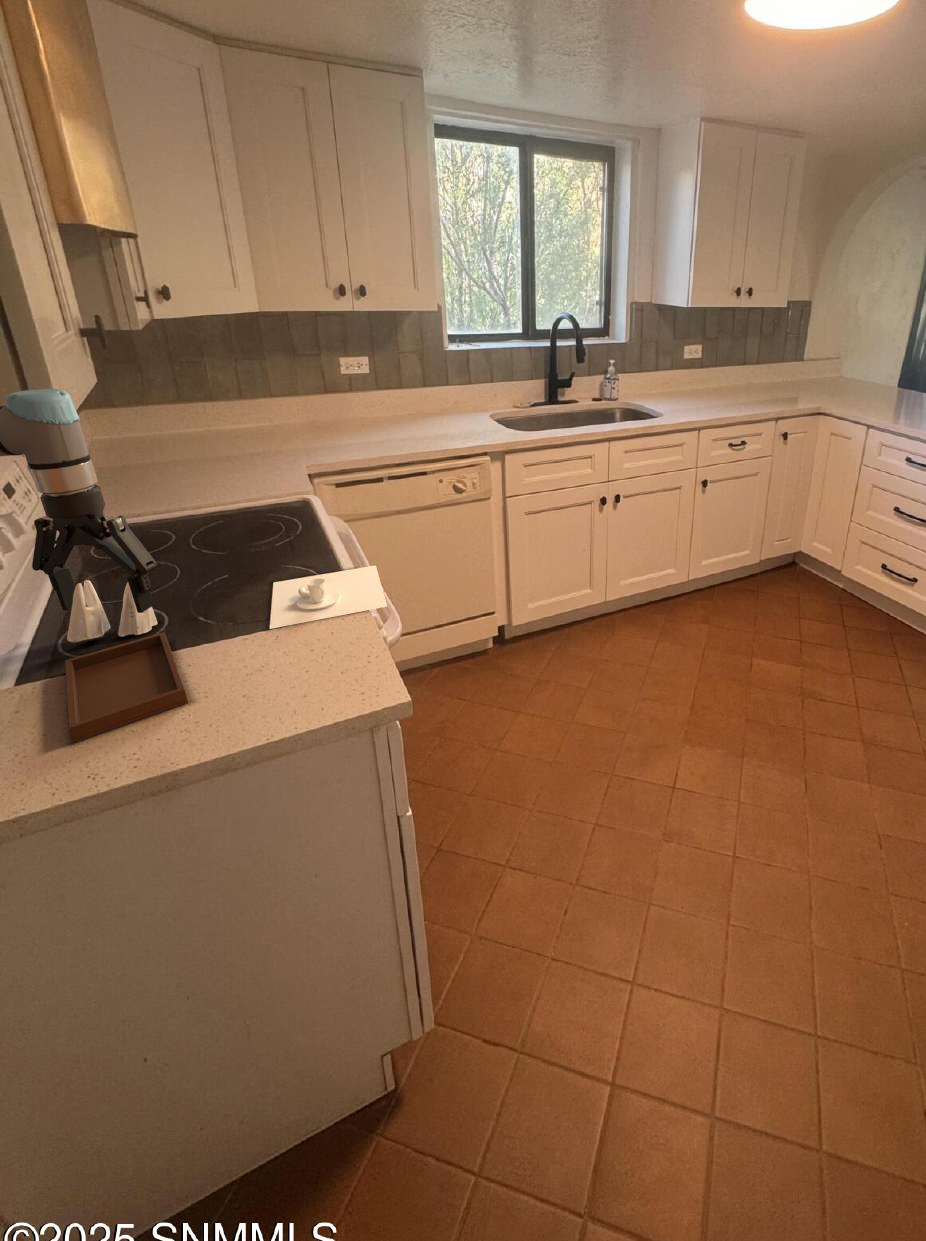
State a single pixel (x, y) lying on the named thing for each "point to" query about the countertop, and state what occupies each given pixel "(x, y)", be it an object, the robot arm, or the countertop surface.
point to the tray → (121, 686)
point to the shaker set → (104, 616)
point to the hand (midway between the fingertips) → (108, 607)
